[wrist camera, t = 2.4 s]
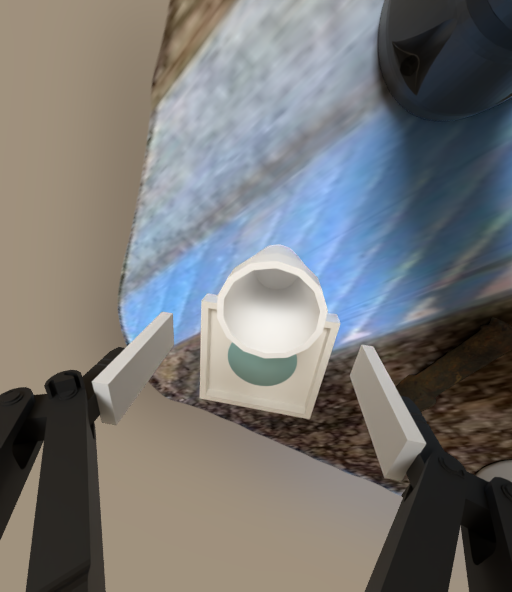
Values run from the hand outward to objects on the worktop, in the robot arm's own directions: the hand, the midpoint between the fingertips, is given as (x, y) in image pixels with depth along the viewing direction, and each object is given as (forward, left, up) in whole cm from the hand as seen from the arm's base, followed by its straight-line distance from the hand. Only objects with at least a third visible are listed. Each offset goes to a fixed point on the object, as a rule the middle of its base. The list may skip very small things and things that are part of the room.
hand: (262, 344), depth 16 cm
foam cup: (0, 0, -17) cm, 17 cm away
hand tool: (+11, +26, -18) cm, 34 cm away
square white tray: (+15, 0, -17) cm, 23 cm away
